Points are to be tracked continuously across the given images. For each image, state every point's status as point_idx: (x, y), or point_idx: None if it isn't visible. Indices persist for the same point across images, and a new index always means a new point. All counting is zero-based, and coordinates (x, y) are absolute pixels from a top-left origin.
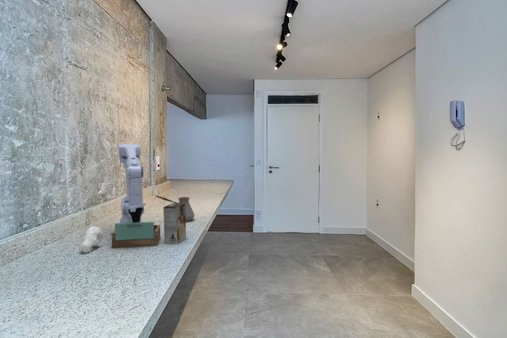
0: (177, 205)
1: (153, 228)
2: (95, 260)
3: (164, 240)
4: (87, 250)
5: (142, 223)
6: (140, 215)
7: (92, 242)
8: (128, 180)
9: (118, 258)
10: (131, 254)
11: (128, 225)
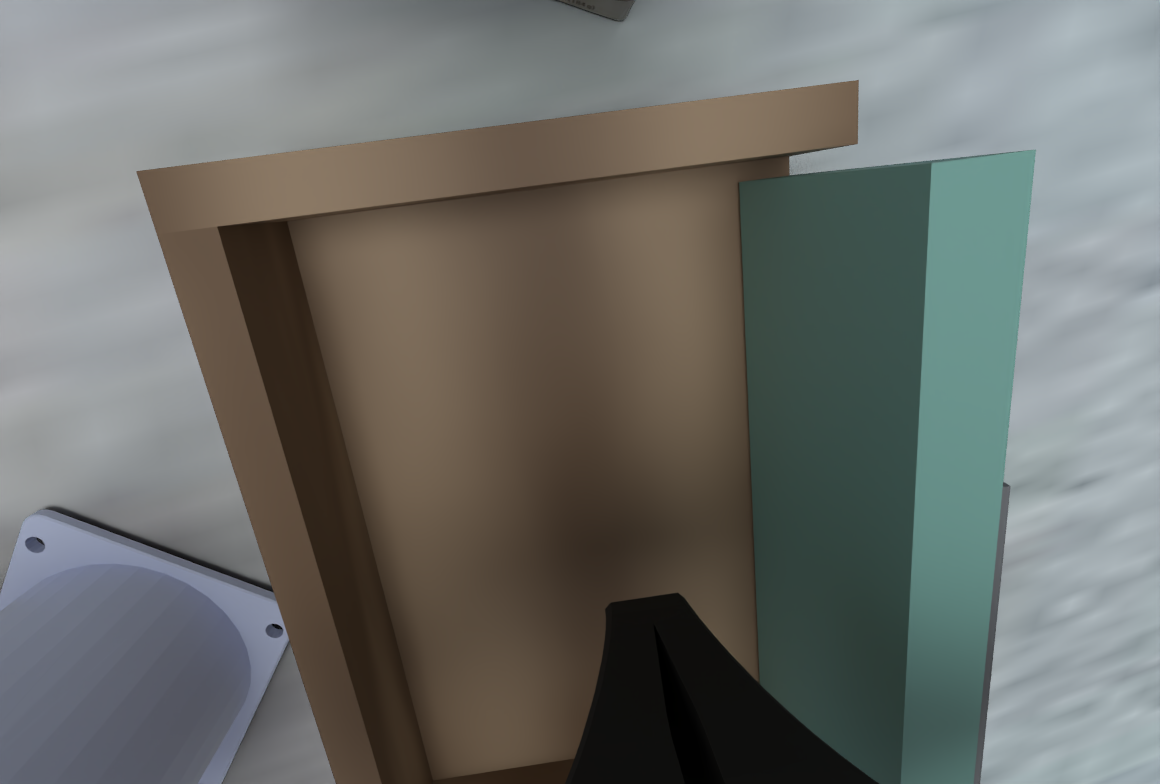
0: None
1: (896, 164)
2: (1134, 669)
3: (631, 6)
4: None
5: (985, 486)
6: (741, 775)
7: None
8: None
9: (1152, 481)
10: (1057, 384)
11: (980, 752)
